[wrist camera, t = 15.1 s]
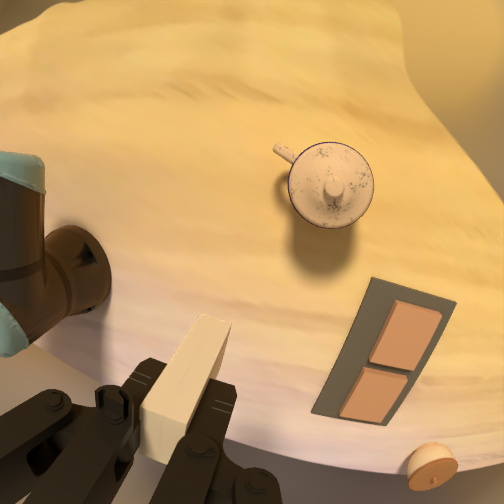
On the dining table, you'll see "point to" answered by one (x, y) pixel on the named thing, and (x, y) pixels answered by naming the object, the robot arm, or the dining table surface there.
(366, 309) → the mat
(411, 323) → the tile near
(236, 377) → the dining table surface
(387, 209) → the dining table surface
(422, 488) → the lidded jar
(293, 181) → the teacup with lid
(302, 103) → the dining table surface
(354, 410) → the tile far
